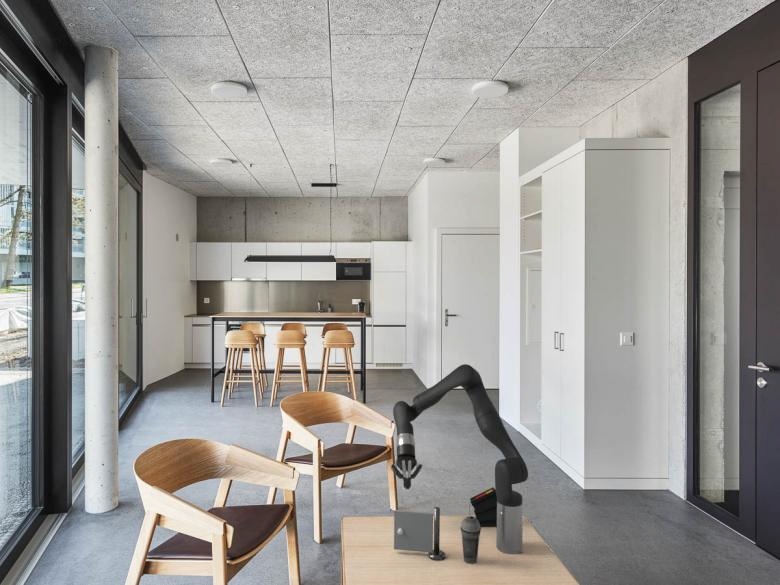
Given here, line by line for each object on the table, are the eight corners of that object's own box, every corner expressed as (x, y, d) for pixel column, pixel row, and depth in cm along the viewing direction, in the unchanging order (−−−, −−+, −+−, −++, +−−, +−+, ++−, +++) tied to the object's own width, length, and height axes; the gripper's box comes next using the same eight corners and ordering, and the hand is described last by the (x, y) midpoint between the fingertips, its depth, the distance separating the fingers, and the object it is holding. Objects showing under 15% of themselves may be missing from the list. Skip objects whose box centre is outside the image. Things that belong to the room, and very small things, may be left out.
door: (432, 551, 202) (433, 512, 202) (432, 554, 200) (432, 515, 199) (394, 547, 204) (394, 509, 204) (393, 550, 202) (393, 512, 202)
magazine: (511, 522, 226) (496, 489, 225) (482, 537, 225) (466, 504, 224) (509, 518, 229) (493, 486, 229) (480, 533, 229) (464, 500, 228)
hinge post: (445, 553, 204) (446, 505, 203) (444, 561, 198) (444, 512, 197) (429, 551, 205) (429, 504, 204) (427, 559, 199) (427, 510, 198)
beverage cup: (467, 567, 194) (468, 510, 193) (455, 558, 200) (456, 502, 199) (484, 563, 197) (485, 506, 196) (472, 553, 203) (473, 499, 203)
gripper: (421, 451, 233) (423, 492, 221) (389, 451, 232) (390, 492, 220) (422, 442, 227) (425, 484, 215) (389, 442, 227) (390, 484, 215)
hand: (407, 488), depth 218 cm, fingers closed
